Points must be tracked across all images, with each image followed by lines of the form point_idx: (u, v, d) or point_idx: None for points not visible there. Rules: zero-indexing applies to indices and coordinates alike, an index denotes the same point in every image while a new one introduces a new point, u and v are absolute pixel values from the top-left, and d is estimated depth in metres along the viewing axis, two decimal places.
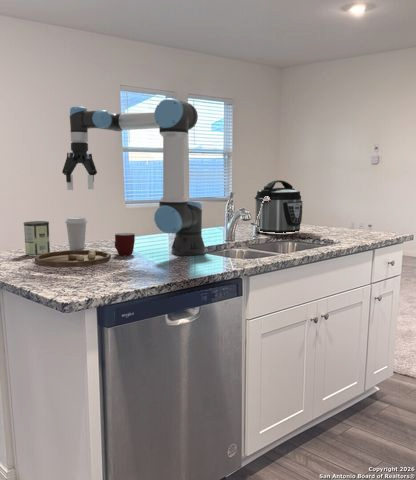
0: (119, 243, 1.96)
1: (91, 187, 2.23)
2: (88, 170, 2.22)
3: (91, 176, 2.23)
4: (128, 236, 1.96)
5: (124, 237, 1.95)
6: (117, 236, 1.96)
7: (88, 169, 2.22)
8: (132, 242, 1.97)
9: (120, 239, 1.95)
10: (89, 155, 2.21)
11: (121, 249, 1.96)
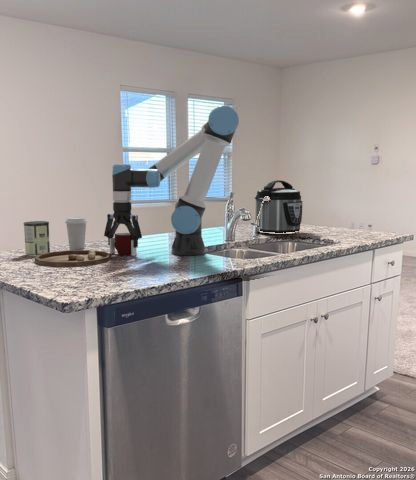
0: (119, 243, 1.96)
1: None
2: None
3: None
4: (128, 236, 1.96)
5: (124, 237, 1.95)
6: (117, 236, 1.96)
7: None
8: None
9: (120, 239, 1.95)
10: None
11: (121, 249, 1.96)
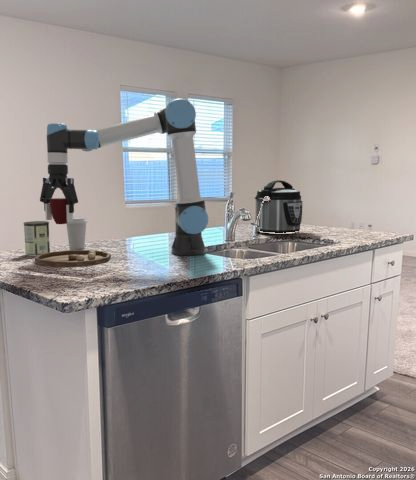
0: (53, 207, 1.85)
1: None
2: None
3: None
4: (63, 200, 1.84)
5: (58, 201, 1.84)
6: (51, 200, 1.85)
7: None
8: None
9: (54, 203, 1.84)
10: None
11: (55, 214, 1.85)
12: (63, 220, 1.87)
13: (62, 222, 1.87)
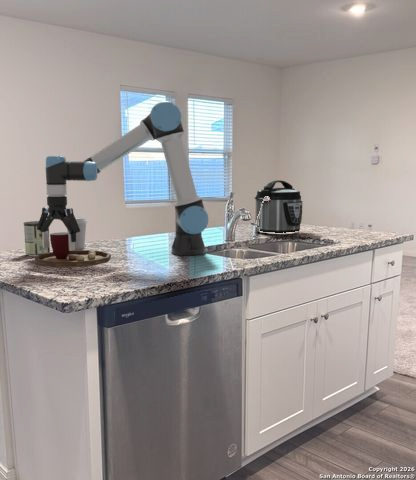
0: (54, 243, 1.86)
1: None
2: None
3: None
4: (63, 236, 1.86)
5: (58, 237, 1.85)
6: (51, 236, 1.86)
7: None
8: (68, 242, 1.88)
9: (54, 239, 1.86)
10: None
11: (56, 249, 1.87)
12: (63, 255, 1.88)
13: (62, 257, 1.88)
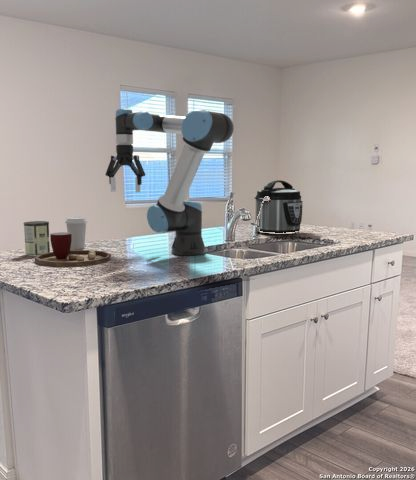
0: (54, 243, 1.86)
1: None
2: None
3: None
4: (63, 236, 1.86)
5: (59, 237, 1.85)
6: (52, 236, 1.86)
7: None
8: (68, 242, 1.88)
9: (55, 239, 1.86)
10: (134, 157, 2.13)
11: (56, 249, 1.87)
12: (63, 255, 1.88)
13: (62, 257, 1.88)
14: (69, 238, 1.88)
